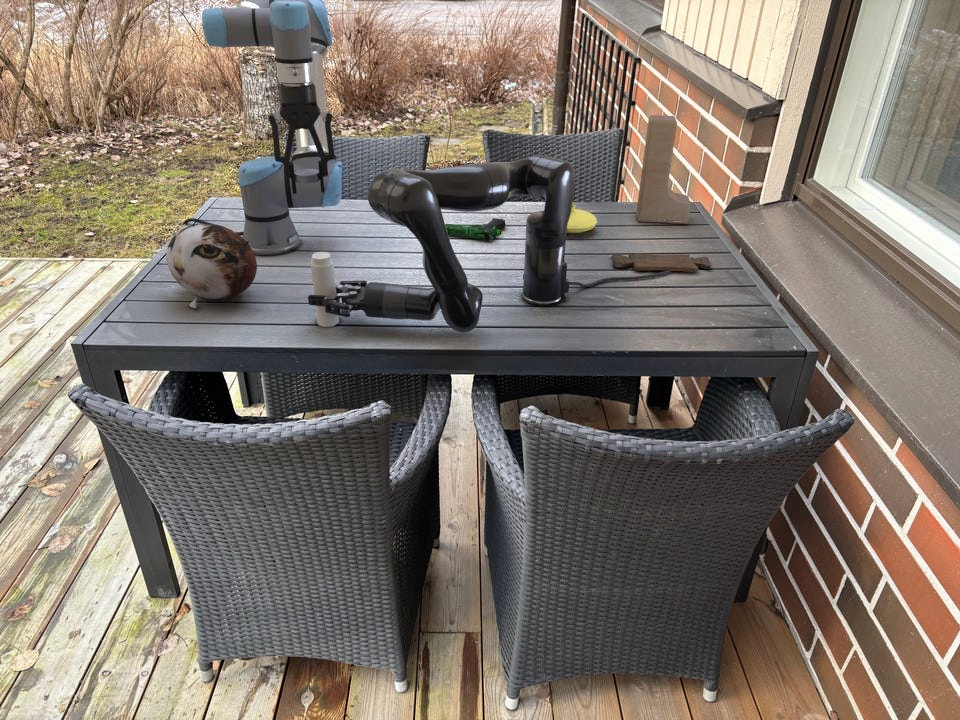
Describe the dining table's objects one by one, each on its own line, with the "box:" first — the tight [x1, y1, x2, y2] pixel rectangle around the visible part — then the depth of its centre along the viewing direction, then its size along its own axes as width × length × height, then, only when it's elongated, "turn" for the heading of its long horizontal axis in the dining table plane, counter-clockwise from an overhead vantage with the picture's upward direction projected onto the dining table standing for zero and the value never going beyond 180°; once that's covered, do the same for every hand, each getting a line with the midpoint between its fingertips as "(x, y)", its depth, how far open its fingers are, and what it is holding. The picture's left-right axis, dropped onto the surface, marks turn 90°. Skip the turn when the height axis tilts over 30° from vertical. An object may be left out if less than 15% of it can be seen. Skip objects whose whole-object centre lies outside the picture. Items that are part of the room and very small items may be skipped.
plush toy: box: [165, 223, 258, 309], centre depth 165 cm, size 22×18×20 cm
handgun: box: [445, 217, 506, 242], centre depth 207 cm, size 16×3×15 cm
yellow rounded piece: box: [566, 204, 598, 234], centre depth 209 cm, size 16×16×7 cm
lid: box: [294, 169, 320, 184], centre depth 160 cm, size 6×6×2 cm
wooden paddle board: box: [611, 252, 711, 273], centre depth 188 cm, size 26×2×10 cm
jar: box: [310, 251, 340, 328], centre depth 155 cm, size 5×5×16 cm
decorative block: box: [635, 114, 692, 225], centre depth 212 cm, size 8×15×30 cm, turn 82°
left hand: (308, 191), depth 162 cm, fingers closed on lid, 5 cm apart
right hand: (313, 294), depth 156 cm, fingers closed on jar, 4 cm apart
